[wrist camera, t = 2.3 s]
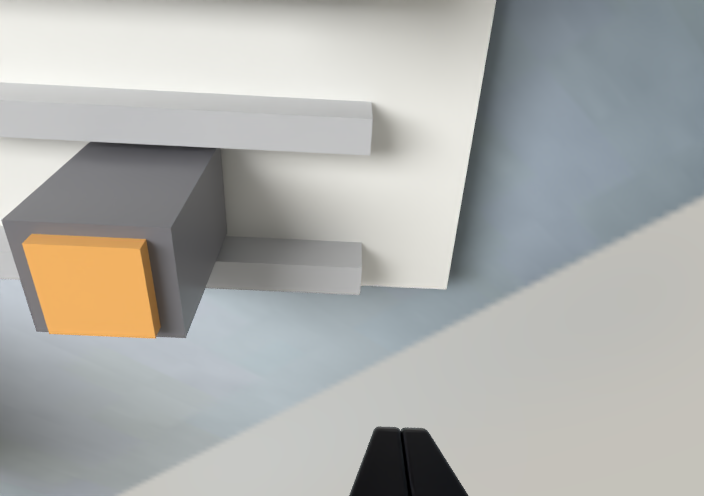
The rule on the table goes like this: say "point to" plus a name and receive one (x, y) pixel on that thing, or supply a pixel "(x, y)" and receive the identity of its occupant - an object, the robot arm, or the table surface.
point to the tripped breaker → (121, 240)
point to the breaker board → (265, 122)
